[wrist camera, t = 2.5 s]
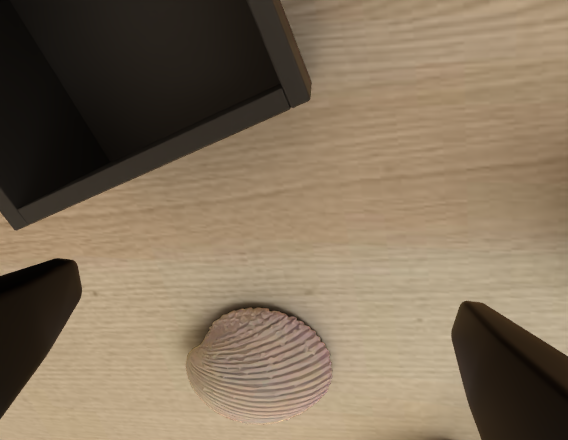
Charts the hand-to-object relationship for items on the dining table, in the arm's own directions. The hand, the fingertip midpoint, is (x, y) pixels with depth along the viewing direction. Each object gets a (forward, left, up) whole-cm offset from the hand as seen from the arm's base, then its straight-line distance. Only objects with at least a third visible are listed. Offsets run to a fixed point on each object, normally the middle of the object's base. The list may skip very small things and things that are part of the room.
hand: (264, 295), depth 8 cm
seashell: (+8, +13, -13) cm, 20 cm away
